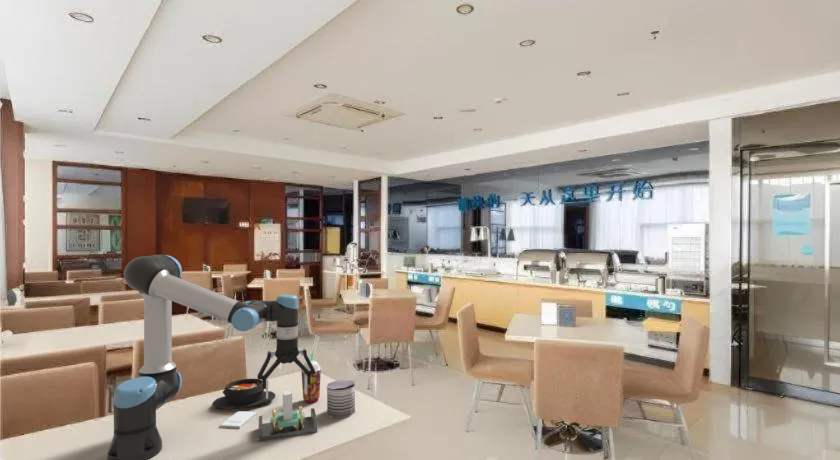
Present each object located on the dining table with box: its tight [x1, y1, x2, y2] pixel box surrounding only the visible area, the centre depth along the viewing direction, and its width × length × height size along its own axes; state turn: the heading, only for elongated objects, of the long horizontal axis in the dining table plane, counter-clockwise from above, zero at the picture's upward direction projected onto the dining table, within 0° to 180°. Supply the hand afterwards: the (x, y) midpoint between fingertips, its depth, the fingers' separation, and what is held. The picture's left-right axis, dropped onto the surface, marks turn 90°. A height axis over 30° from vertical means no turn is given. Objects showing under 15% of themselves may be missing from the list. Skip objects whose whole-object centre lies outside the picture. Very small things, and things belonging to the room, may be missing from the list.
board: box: [269, 389, 306, 428], centre depth 158 cm, size 12×10×10 cm
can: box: [326, 378, 356, 419], centre depth 174 cm, size 11×11×12 cm
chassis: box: [258, 405, 318, 442], centre depth 158 cm, size 20×11×6 cm, turn 110°
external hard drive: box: [218, 410, 257, 429], centre depth 167 cm, size 2×8×12 cm
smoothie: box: [300, 353, 322, 404], centre depth 186 cm, size 8×8×20 cm
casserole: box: [211, 378, 276, 409], centre depth 184 cm, size 25×19×8 cm
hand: (286, 395), depth 158 cm, fingers open, 13 cm apart
